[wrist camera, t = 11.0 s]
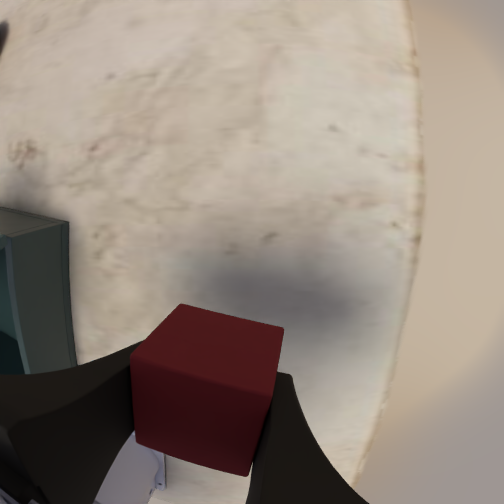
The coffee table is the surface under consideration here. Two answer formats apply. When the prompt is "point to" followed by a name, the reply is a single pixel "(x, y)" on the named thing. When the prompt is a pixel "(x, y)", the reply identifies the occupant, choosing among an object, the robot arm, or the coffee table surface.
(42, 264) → the grey-green open box
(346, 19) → the coffee table surface
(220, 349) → the block
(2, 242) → the lid
